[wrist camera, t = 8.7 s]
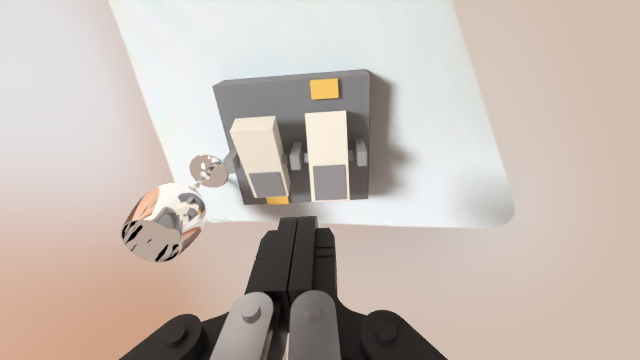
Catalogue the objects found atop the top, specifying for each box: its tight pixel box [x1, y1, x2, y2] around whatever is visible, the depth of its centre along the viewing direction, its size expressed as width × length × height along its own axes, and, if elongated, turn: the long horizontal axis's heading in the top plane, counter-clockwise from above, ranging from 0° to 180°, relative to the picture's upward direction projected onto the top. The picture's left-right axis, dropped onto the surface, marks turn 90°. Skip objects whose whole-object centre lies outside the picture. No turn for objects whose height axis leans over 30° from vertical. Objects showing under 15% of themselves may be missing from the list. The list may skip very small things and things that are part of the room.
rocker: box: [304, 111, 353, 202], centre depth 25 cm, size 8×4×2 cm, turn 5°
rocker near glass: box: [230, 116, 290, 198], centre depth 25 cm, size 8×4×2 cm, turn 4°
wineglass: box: [121, 154, 227, 263], centre depth 27 cm, size 6×6×12 cm
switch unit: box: [212, 69, 370, 205], centre depth 27 cm, size 13×14×6 cm
